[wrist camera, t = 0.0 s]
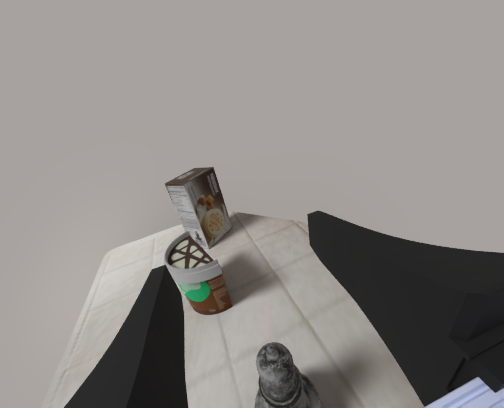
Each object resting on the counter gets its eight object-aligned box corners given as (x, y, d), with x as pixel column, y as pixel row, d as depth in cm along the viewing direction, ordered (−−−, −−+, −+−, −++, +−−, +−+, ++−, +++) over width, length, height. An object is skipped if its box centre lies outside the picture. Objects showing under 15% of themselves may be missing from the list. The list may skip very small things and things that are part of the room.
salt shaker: (288, 375, 26) (268, 300, 20) (337, 421, 21) (328, 341, 16) (250, 425, 22) (215, 351, 17) (298, 492, 18) (272, 420, 13)
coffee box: (213, 224, 61) (194, 167, 54) (233, 227, 57) (214, 166, 50) (189, 245, 54) (163, 183, 47) (209, 250, 50) (184, 183, 44)
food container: (174, 290, 41) (152, 246, 37) (204, 272, 44) (187, 229, 40) (200, 339, 32) (174, 287, 27) (237, 312, 34) (218, 261, 30)
